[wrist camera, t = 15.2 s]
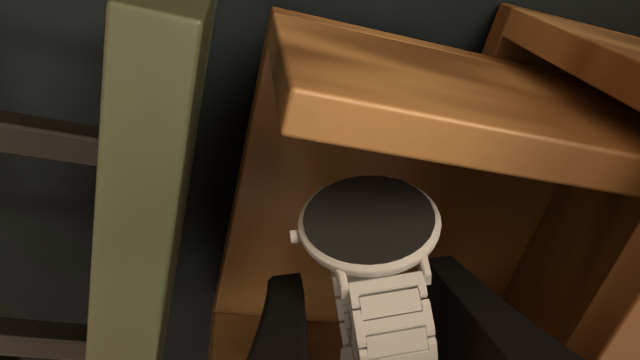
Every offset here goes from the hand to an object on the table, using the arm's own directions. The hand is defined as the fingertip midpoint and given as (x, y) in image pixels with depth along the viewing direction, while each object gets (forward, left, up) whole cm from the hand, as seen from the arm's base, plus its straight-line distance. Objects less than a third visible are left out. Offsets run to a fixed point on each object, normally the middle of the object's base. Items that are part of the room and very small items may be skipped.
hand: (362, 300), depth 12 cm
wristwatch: (0, 0, -2) cm, 3 cm away
